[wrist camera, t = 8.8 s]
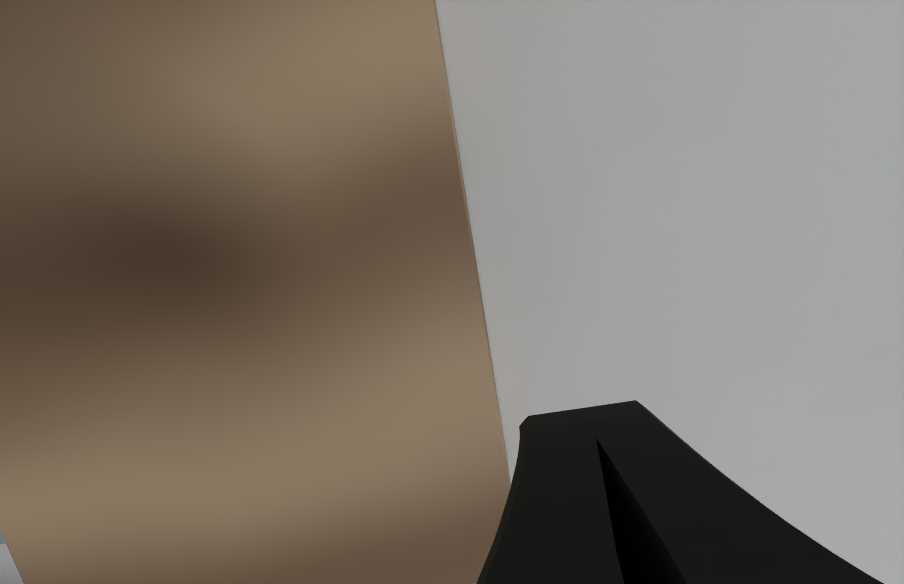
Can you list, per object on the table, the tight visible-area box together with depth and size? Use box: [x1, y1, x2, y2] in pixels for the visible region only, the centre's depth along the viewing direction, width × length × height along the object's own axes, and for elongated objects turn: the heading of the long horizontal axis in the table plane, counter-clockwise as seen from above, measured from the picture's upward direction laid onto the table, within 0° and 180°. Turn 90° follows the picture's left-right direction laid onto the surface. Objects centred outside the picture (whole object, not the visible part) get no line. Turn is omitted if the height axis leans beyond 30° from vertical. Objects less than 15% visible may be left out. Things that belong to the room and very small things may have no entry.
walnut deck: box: [0, 0, 511, 584], centre depth 16 cm, size 14×10×4 cm
